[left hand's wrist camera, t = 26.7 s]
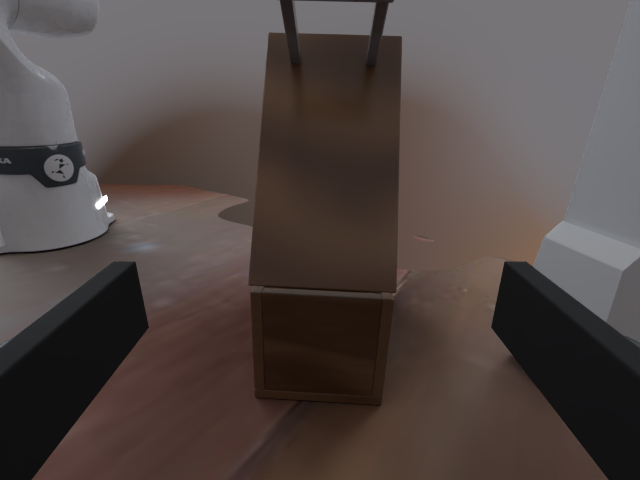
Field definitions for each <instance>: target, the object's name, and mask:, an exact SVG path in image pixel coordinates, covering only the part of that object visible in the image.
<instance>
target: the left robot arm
mask: <svg viewBox="0 0 640 480" xmlns="http://www.w3.org/2000/svg"><path fill="white" fill-rule="evenodd" d="M148 328H149V326H148V321H147V316H146V311H145V307H144V302H143V297H142V292H141V287H140V282H139V277H138V272H137V267H136V262H113V263H111V264H110V265H109V266H107V267H106V268H105V269H104V270H102V271H101V272H100V273H98V274H97V275H96V276H94V277H93V278H92V279H90V280H89V281H88V282H86V283H85V284H84V285H82V286H81V287H80V288H79V289H77V290H76V291H75V292H73V293H72V294H71V295H69V296H68V297H67V298H65V299H64V300H63V301H61V302H60V303H59V304H57V305H56V306H55V307H53V308H52V309H51V310H50V311H48V312H47V313H46V314H44V315H43V316H42V317H40V318H39V319H38V320H36V321H35V322H34V323H32V324H31V325H30V326H28V327H27V328H26V329H24V330H23V331H22V332H21V333H19V334H18V335H17V336H15V337H13V338H11V339H9V340H7V341H5V342H3V343H1V344H0V480H31V479H32V478H33V477H34V476H35V474H36V473H37V472H38V470H39V469H40V468H41V466H42V465H43V464H44V463H45V461H46V460H47V459H48V457H49V456H50V455H51V453H52V452H53V451H54V450H55V448H56V447H57V446H58V444H59V443H60V442H61V441H62V439H63V438H64V437H65V435H66V434H67V433H68V431H69V430H70V429H71V428H72V426H73V425H74V424H75V422H76V421H77V420H78V418H79V417H80V416H81V415H82V413H83V412H84V411H85V409H86V408H87V407H88V406H89V404H90V403H91V402H92V400H93V399H94V398H95V396H96V395H97V394H98V393H99V391H100V390H101V389H102V387H103V386H104V385H105V383H106V382H107V381H108V380H109V378H110V377H111V376H112V374H113V373H114V372H115V370H116V369H117V368H118V367H119V365H120V364H121V363H122V361H123V360H124V359H125V358H126V356H127V355H128V354H129V352H130V351H131V350H132V348H133V347H134V346H135V345H136V343H137V342H138V341H139V339H140V338H141V337H142V335H143V334H144V333H145V332H146V330H147V329H148ZM491 328H492V329H493V330H494V332H495V333H496V334H497V335H498V337H499V338H500V339H501V341H502V342H503V343H504V345H505V346H506V347H507V348H508V350H509V351H510V352H511V354H512V355H513V356H514V358H515V359H516V360H517V361H518V363H519V364H520V365H521V367H522V368H523V369H524V370H525V372H526V373H527V374H528V376H529V377H530V378H531V380H532V381H533V382H534V383H535V385H536V386H537V387H538V389H539V390H540V391H541V393H542V394H543V395H544V396H545V398H546V399H547V400H548V402H549V403H550V404H551V406H552V407H553V408H554V409H555V411H556V412H557V413H558V415H559V416H560V417H561V418H562V420H563V421H564V422H565V424H566V425H567V426H568V428H569V429H570V430H571V431H572V433H573V434H574V435H575V437H576V438H577V439H578V441H579V442H580V443H581V444H582V446H583V447H584V448H585V450H586V451H587V452H588V453H589V455H590V456H591V457H592V459H593V460H594V461H595V463H596V464H597V465H598V466H599V468H600V469H601V470H602V472H603V473H604V474H605V476H606V477H607V478H608V479H609V480H640V342H638V341H636V340H634V339H632V338H630V337H628V336H623V335H622V334H621V333H619V332H618V331H617V330H616V329H614V328H613V327H612V326H610V325H609V324H608V323H606V322H605V321H604V320H602V319H601V318H600V317H598V316H597V315H596V314H594V313H593V312H592V311H590V310H589V309H588V308H587V307H585V306H584V305H583V304H581V303H580V302H579V301H577V300H576V299H575V298H573V297H572V296H571V295H569V294H568V293H567V292H565V291H564V290H563V289H561V288H560V287H559V286H558V285H556V284H555V283H554V282H552V281H551V280H550V279H548V278H547V277H546V276H544V275H543V274H542V273H540V272H539V271H538V270H536V269H535V268H534V267H533V266H531V265H530V264H529V263H527V262H504V267H503V272H502V277H501V282H500V287H499V292H498V297H497V302H496V307H495V311H494V316H493V321H492V326H491Z"/></svg>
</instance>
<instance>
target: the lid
mask: <svg viewBox="0 0 640 480" xmlns="http://www.w3.org/2000/svg"><path fill="white" fill-rule="evenodd" d="M297 1H338V2H375V5H374V12H373V18H372V24H371V31H370V35H339V34H302V33H298V27H297V19H296V11H295V3H294V0H280V4H281V10H282V16H283V22H284V27H285V33H268V42H267V55H266V68H265V80H264V93H263V106H262V119H261V131H260V144H259V157H258V169H257V182H256V194H255V207H254V220H253V232H252V245H251V258H250V271H249V283H248V284H249V285H251V286H270V287H289V288H308V289H327V290H346V291H365V292H384V293H396V287H397V241H398V195H399V149H400V104H401V59H402V37H401V36H382V34H383V29H384V24H385V19H386V14H387V9H388V4H389V3H392V2H393V1H394V0H297Z"/></svg>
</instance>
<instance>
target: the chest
mask: <svg viewBox="0 0 640 480" xmlns="http://www.w3.org/2000/svg"><path fill="white" fill-rule="evenodd" d="M250 297H251V318H252V338H253V359H254V380H255V397H259V398H275V399H291V400H307V401H322V402H338V403H354V404H370V405H381V401H382V393H383V385H384V377H385V369H386V361H387V353H388V345H389V337H390V329H391V321H392V313H393V305H394V298H393V294H392V293H384V292H365V291H346V290H327V289H308V288H289V287H270V286H253V288H252V290H251V292H250Z"/></svg>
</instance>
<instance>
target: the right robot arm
mask: <svg viewBox="0 0 640 480" xmlns="http://www.w3.org/2000/svg"><path fill="white" fill-rule="evenodd" d="M99 9H100V7H99V0H0V253H6V252H30V251H42V250H50V249H56V248H62V247H67V246H71V245H75V244H79V243H82V242H85V241H88V240H91V239H93V238H96V237H98V236H100V235H102V234H103V233H104V232H106V231H107V229H108V226H109V224H110V223H111V222H113V221H114V220H115V217H114V214H113V213H107V211H106V208H105V203H106V201H107V200H108V199H107V196H104V197H102V194H101V191H100V187H99V184H98V181H97V178H96V176H95V175H94V174H92V173H91V172H89V171H88V170H87V169H86V168H85V166H84V165H85V164H86V159H85V152H84V149H83V147H82V143H81V141H79V140H78V139H77V135H76V130H75V126H74V121H73V116H72V112H71V107H70V103H69V98H68V93H67V91H66V89H65V87H64V86H63V84H62V83H61V82H60V81H59V80H58V79H57V78H56V77H55V76H54V75H52V74H51V73H49V72H48V71H46V70H44V69H42V68H40V67H38V66H36V65H34V64H33V63H32V62H30V61H29V60H28V59H27V58H26V57H25V56H24V55H23V53H22V52H21V51H20V50H19V49H18V47H17V46H16V44H15V43H14V41H13V39H12V37H11V35H10V33H9V32H14V33H20V34H27V35H34V36H40V37H47V38H72V37H82V36H87V35H88V34H90V33H91V32H92V31H93V29H94V28H95V26H96V24H97V21H98V18H99Z"/></svg>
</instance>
